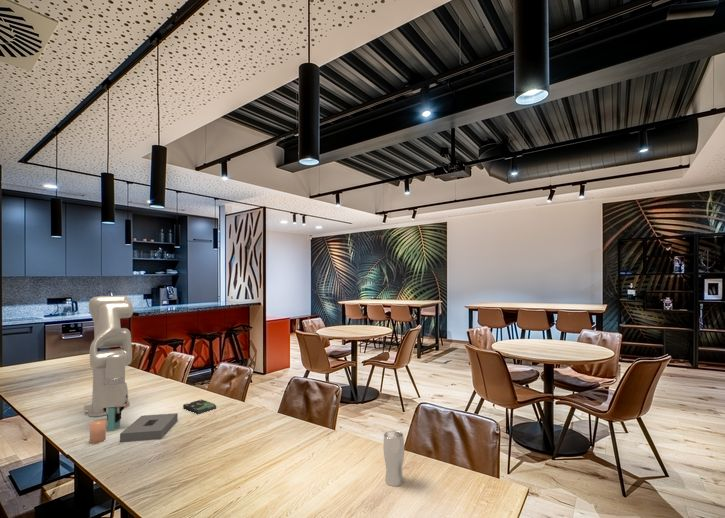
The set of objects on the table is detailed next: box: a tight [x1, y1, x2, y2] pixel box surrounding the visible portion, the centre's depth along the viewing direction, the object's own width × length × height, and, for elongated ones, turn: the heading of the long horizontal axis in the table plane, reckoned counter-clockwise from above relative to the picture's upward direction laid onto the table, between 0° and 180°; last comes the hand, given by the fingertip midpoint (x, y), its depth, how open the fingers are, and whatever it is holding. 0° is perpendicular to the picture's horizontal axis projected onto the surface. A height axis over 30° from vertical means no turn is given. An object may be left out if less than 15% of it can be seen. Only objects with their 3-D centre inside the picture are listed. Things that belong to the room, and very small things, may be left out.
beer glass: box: [382, 430, 405, 487], centre depth 118 cm, size 7×7×15 cm
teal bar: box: [106, 407, 121, 432], centre depth 163 cm, size 2×6×10 cm, turn 10°
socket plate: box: [119, 412, 179, 443], centre depth 160 cm, size 16×20×4 cm
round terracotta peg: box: [89, 418, 107, 445], centre depth 150 cm, size 6×6×8 cm
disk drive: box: [182, 399, 217, 415], centre depth 186 cm, size 10×3×15 cm
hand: (114, 421), depth 163 cm, fingers closed on teal bar, 2 cm apart
